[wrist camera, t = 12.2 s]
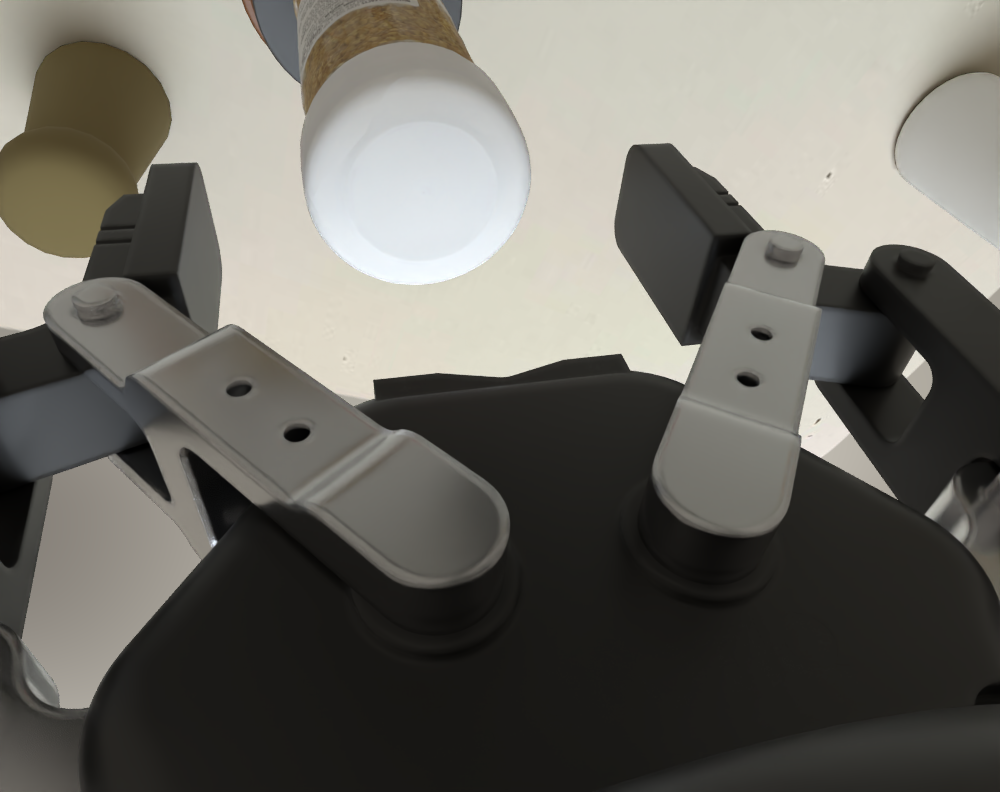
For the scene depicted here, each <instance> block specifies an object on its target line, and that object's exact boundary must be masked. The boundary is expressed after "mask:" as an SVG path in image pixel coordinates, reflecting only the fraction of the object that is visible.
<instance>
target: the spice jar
mask: <svg viewBox="0 0 1000 792" xmlns="http://www.w3.org/2000/svg"><path fill="white" fill-rule="evenodd" d="M293 4H294V11H295V16H296V19H297V34H298V53H299V70H300V82H301V95H302V104H303V109H304V113H305V116H306V117H305V120H304V124H303V128H302V134H301V143H300V149H301V172H302V180H303V188H304V194H305V199H306V203H307V207H308V210H309V213H310V216H311V218H312V221H313V223H314V225H315V227H316V229H317V230H318V232H319V234H320V235H321V237H322V239H323V240H324V241H325V242H326V244H327V245H328V246H329V247H330V248H331V249H332V250H333V252H334V253H335V254H337V255H338V256H339V257H340V258H341V259H342V260H343V261H345V262H346V263H347V264H349V265H350V266H351V267H353V268H355V269H356V270H358V271H360V272H362V273H364V274H366V275H369V276H371V277H374V278H376V279H379V280H383V281H386V282H390V283H397V284H407V285H423V284H432V283H438V282H443V281H446V280H450V279H453V278H456V277H458V276H461V275H463V274H465V273H467V272H469V271H471V270H473V269H475V268H476V267H478V266H480V265H481V264H483V263H484V262H486V261H487V260H488V259H490V258H491V257H492V256H493V255H494V254H495V253H496V252H497V251H498V250H499V249H500V248H501V247H502V246H503V245H504V244H505V242H506V241H507V240H508V239H509V238H510V236H511V235H512V233H513V232H514V230H515V228H516V227H517V225H518V223H519V221H520V219H521V217H522V215H523V212H524V209H525V206H526V203H527V200H528V195H529V191H530V183H531V166H530V157H529V152H528V148H527V144H526V141H525V138H524V135H523V133H522V130H521V128H520V126H519V124H518V122H517V120H516V118H515V116H514V114H513V112H512V110H511V109H510V107H509V105H508V104H507V102H506V100H505V99H504V97H503V96H502V94H501V93H500V91H499V89H498V88H497V86H496V85H495V84H494V82H493V81H492V80H491V79H490V78H489V77H488V75H487V74H486V73H485V72H484V71H483V70H481V69H480V68H479V67H478V66H477V65H475V64H474V62H473V61H472V59H471V57H470V55H469V53H468V51H467V49H466V46H465V44H464V42H463V40H462V38H461V37H460V35H459V34H458V31H457V29H456V27H455V24H454V22H453V20H452V18H451V16H450V15H449V13H448V11H447V10H446V8H445V6H444V4H443V3H442V1H441V0H293Z"/></svg>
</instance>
